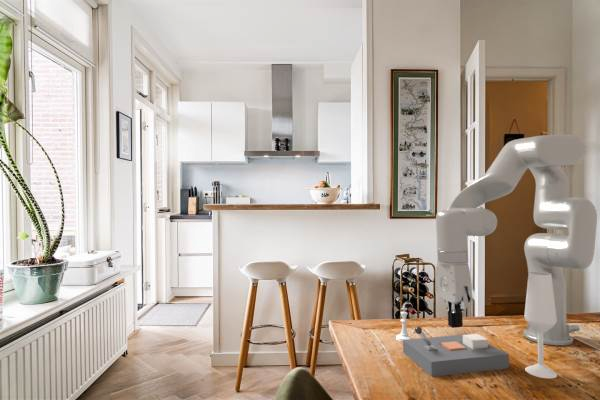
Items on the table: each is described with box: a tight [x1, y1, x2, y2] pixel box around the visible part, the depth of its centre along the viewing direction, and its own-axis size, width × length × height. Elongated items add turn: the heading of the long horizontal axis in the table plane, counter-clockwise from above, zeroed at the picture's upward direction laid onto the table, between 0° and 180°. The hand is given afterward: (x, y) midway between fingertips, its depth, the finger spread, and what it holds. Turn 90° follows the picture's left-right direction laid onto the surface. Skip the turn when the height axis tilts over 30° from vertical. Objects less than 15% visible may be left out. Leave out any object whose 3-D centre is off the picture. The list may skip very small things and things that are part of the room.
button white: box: [462, 333, 489, 349], centre depth 103 cm, size 4×4×2 cm
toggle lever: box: [414, 326, 431, 346], centre depth 100 cm, size 2×2×6 cm
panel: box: [402, 333, 510, 377], centre depth 102 cm, size 21×15×4 cm
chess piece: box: [395, 305, 413, 343], centre depth 117 cm, size 5×5×10 cm
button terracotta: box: [441, 341, 466, 351], centre depth 102 cm, size 4×4×2 cm
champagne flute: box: [523, 272, 558, 379], centre depth 94 cm, size 7×7×24 cm
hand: (455, 326), depth 102 cm, fingers closed
